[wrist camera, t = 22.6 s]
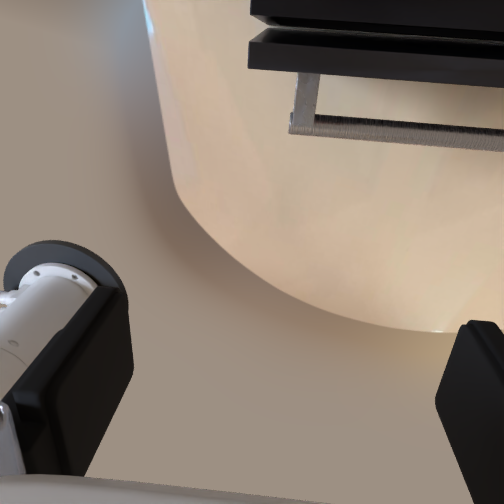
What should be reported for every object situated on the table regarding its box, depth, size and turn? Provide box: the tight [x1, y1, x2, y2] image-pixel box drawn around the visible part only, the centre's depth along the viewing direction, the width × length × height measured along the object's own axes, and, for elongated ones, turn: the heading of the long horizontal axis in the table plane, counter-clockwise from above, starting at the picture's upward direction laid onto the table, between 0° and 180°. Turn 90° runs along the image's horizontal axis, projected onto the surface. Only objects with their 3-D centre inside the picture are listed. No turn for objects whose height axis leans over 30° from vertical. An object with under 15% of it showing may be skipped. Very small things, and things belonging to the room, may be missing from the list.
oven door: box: [248, 28, 504, 152], centre depth 34 cm, size 6×26×18 cm, turn 86°
